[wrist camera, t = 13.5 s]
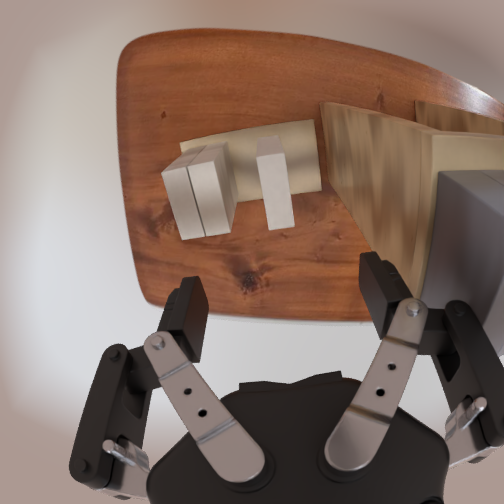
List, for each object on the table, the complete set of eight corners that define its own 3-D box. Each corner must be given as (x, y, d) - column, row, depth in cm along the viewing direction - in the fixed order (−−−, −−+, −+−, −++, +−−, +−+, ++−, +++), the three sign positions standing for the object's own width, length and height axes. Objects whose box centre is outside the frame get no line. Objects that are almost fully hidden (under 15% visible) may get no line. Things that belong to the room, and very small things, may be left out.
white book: (257, 138, 31) (255, 156, 23) (278, 134, 31) (284, 152, 22) (267, 192, 35) (269, 230, 26) (286, 190, 35) (294, 226, 26)
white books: (180, 142, 32) (149, 164, 23) (313, 119, 30) (334, 131, 21) (197, 208, 37) (177, 250, 28) (321, 189, 35) (341, 227, 26)
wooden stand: (319, 102, 29) (520, 177, 4) (422, 100, 27) (626, 183, 3) (328, 180, 34) (440, 394, 10) (423, 172, 32) (579, 319, 8)
